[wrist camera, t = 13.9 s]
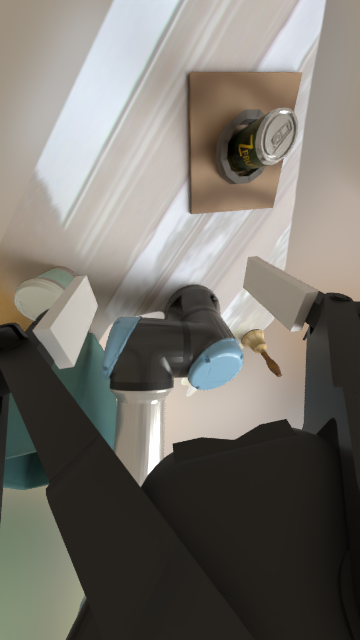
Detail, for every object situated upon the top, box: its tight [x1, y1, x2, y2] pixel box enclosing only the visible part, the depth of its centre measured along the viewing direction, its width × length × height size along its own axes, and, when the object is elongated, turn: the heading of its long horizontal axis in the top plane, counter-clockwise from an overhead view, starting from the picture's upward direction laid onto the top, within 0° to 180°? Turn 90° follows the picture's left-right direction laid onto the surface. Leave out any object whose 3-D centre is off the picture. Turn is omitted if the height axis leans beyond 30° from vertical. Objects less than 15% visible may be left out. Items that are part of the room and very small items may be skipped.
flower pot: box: [3, 333, 117, 490], centre depth 42 cm, size 20×20×28 cm
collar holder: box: [189, 72, 302, 214], centre depth 31 cm, size 18×18×4 cm
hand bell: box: [242, 330, 282, 377], centre depth 57 cm, size 8×8×16 cm
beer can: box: [227, 108, 298, 172], centre depth 27 cm, size 5×5×12 cm
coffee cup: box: [14, 267, 76, 321], centre depth 36 cm, size 8×8×12 cm
